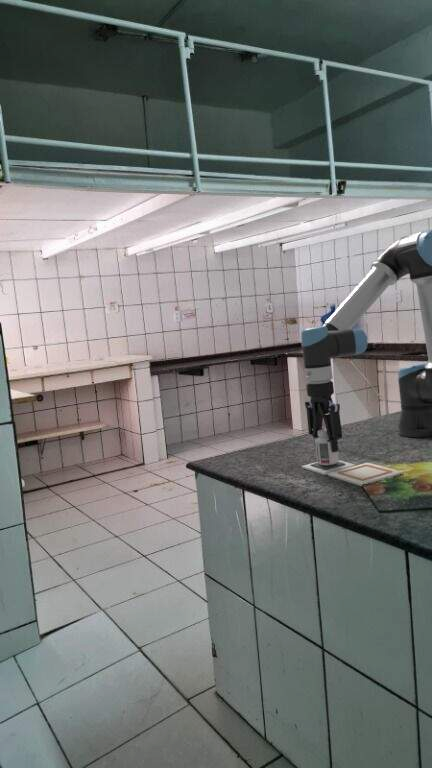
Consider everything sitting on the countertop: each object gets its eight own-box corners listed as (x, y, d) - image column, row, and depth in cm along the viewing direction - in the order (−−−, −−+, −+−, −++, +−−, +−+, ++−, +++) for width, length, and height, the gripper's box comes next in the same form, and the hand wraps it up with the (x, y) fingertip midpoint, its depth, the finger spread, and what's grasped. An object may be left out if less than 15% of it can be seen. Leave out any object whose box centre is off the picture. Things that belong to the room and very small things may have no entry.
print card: (367, 464, 161) (367, 461, 161) (403, 473, 148) (403, 470, 148) (327, 475, 155) (327, 472, 155) (361, 486, 143) (361, 483, 142)
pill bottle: (341, 462, 162) (337, 429, 161) (327, 467, 159) (324, 433, 158) (327, 459, 167) (324, 427, 166) (314, 464, 164) (311, 431, 163)
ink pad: (331, 460, 170) (331, 456, 170) (355, 466, 160) (355, 463, 160) (301, 468, 166) (301, 464, 166) (324, 475, 156) (323, 471, 156)
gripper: (290, 382, 167) (299, 458, 170) (328, 385, 150) (337, 469, 153) (311, 378, 170) (319, 453, 173) (350, 380, 154) (358, 463, 156)
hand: (327, 460), depth 163 cm, fingers closed on pill bottle, 5 cm apart
